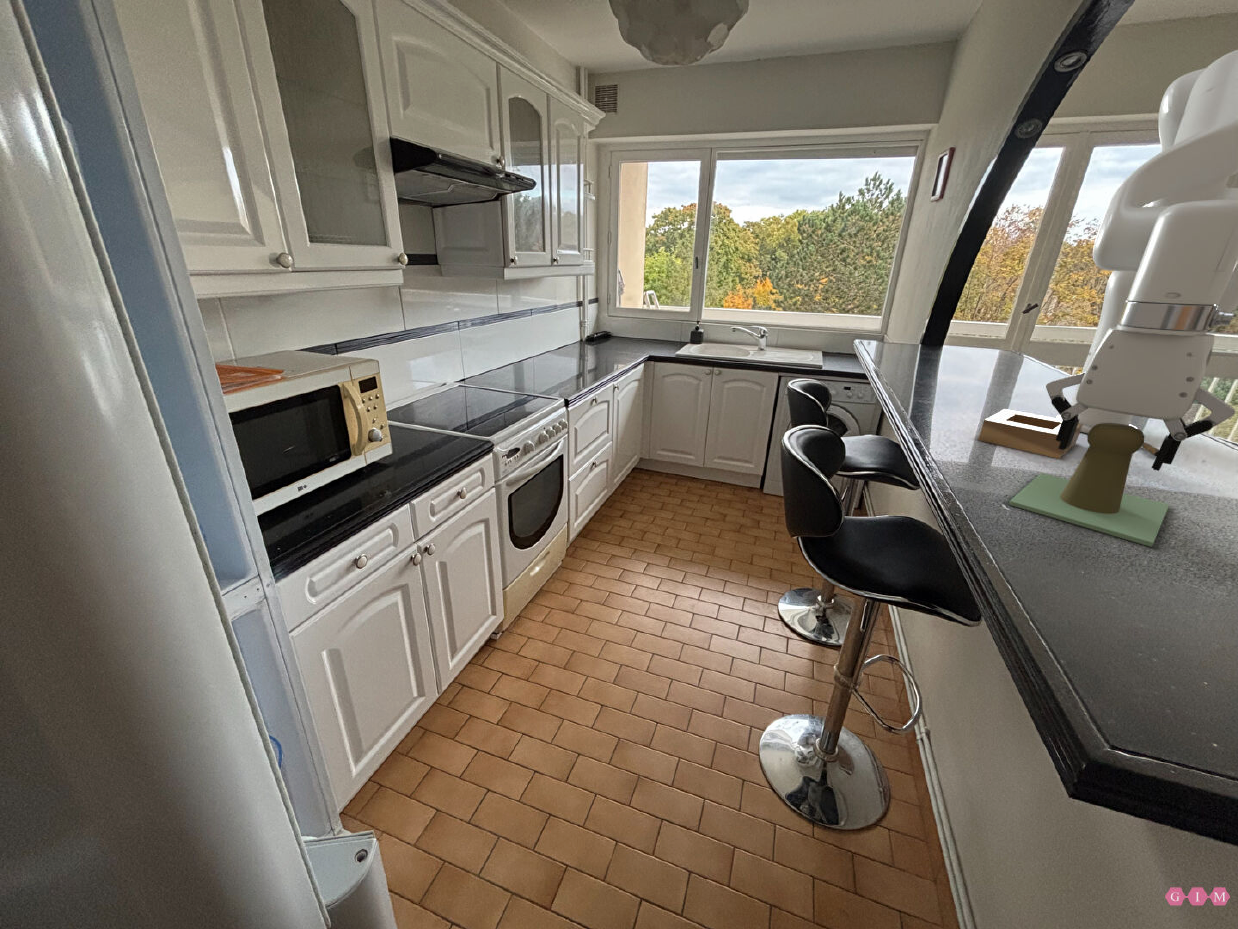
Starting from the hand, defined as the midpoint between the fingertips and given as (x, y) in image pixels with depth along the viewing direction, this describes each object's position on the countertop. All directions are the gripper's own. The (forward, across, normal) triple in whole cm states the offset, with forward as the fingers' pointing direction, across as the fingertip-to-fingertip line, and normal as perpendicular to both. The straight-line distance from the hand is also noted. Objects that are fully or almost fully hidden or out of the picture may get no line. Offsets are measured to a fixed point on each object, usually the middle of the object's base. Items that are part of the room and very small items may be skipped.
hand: (1108, 456), depth 66 cm
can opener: (+7, -2, -38) cm, 39 cm away
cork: (+7, 0, 0) cm, 7 cm away
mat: (+7, 0, 0) cm, 7 cm away
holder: (+7, +13, -26) cm, 30 cm away
